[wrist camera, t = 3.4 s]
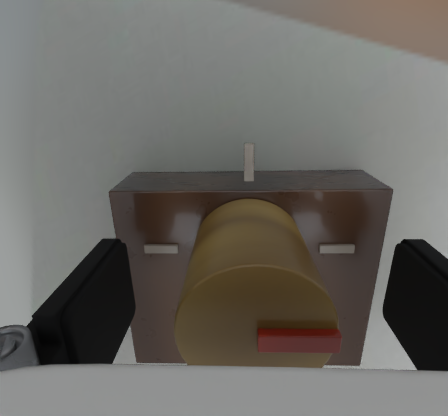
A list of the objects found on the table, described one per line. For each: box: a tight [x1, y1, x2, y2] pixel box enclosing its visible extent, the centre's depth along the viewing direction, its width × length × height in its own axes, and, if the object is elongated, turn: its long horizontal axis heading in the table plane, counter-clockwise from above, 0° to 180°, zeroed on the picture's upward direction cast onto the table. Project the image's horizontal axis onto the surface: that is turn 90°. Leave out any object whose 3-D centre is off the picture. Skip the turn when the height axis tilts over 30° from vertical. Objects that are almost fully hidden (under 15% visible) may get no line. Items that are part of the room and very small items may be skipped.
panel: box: [109, 143, 393, 366], centre depth 14 cm, size 11×11×3 cm
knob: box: [174, 199, 342, 368], centre depth 10 cm, size 4×4×5 cm
